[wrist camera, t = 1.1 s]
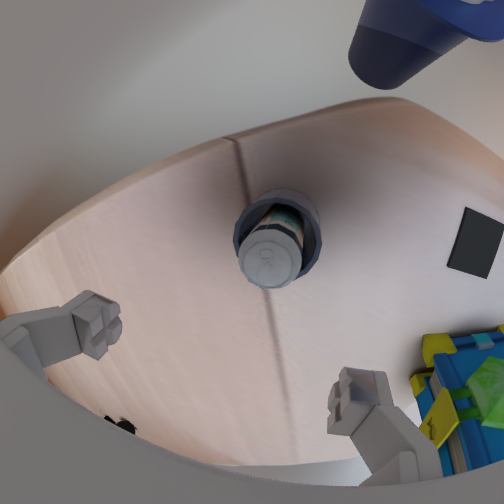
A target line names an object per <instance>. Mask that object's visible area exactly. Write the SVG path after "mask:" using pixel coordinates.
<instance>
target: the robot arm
mask: <svg viewBox="0 0 504 504" xmlns="http://www.w3.org/2000/svg"><path fill="white" fill-rule="evenodd" d="M461 1H463V2H466V3H469V4H480V3H482V2H483V1H485V0H461ZM486 1H494V0H486ZM120 313H121V312H120V305H119V304H118V303H117V302H115V301H113V300H110V299H108V298H106V297H104V296H101V295H99V294H97V293H94V292H92V291H90V290H85V291H83V292H82V293H81V294H79V295H78V296H76V297H75V298H73V299H72V300H70V301H69V302H68V303H66V304H65V305H63V306H62V307H61V308H60V307H59V306H57V307H51V308H46V309H40V310H35V311H29V312H24V313H18V314H12V315H10V316H8V317H7V318H5V319H4V320H3V321H1V322H0V504H504V460H501V461H498V462H496V463H493V464H490V465H487V466H484V467H481V468H478V469H474V470H471V471H467V472H463V473H460V474H456V475H451V476H447V477H443V472H442V467H441V462H440V458H439V453H438V449H437V447H436V446H435V445H434V444H433V443H432V442H431V441H430V440H429V439H428V438H427V437H426V436H425V434H424V433H423V432H422V431H421V430H420V429H419V428H418V427H417V426H416V425H415V424H414V423H413V422H412V421H411V420H410V419H409V418H408V417H407V416H406V415H405V414H404V413H403V412H402V411H401V410H400V409H399V407H396V406H394V404H393V400H392V395H391V391H390V387H389V383H388V379H387V375H386V373H385V372H382V371H373V370H371V371H370V370H363V369H356V368H350V367H344V368H343V369H342V370H341V372H340V374H339V381H338V382H336V383H334V385H333V387H332V389H331V391H330V394H329V398H328V409H329V411H330V412H331V414H330V415H329V417H328V422H327V433H328V434H335V435H344V436H351V437H350V438H351V440H352V441H353V443H354V445H355V446H356V448H357V450H358V451H359V453H360V455H361V456H362V458H363V460H364V461H365V463H366V465H367V466H368V468H369V470H370V471H371V473H372V475H371V476H370V477H369V478H367V479H366V480H365V481H363V482H362V483H361V484H360V485H359V486H358V487H357V486H351V487H350V486H324V485H311V484H301V483H292V482H285V481H279V480H273V479H267V478H262V477H256V476H252V475H247V474H243V473H239V472H235V471H231V470H227V469H223V468H220V467H216V466H213V465H210V464H207V463H203V462H200V461H197V460H194V459H191V458H189V457H186V456H183V455H180V454H178V453H175V452H172V451H170V450H167V449H165V448H163V447H160V446H158V445H155V444H153V443H151V442H149V441H146V440H144V439H142V438H140V437H138V436H136V435H134V434H132V433H130V432H128V431H126V430H124V429H122V428H120V427H118V426H116V425H114V424H112V423H111V422H109V421H107V420H105V419H103V418H102V417H100V416H98V415H97V414H95V413H93V412H92V411H90V410H88V409H87V408H85V407H84V406H82V405H81V404H79V403H77V402H76V401H74V400H73V399H71V398H70V397H69V396H67V395H66V394H64V393H63V392H61V391H60V390H59V389H57V388H56V387H55V386H53V385H52V384H51V383H49V382H48V381H47V375H46V373H45V370H44V367H47V366H50V365H52V364H55V363H58V362H60V361H63V360H66V359H68V358H71V357H73V356H76V355H78V354H81V353H84V354H86V355H88V356H90V357H92V358H94V359H96V360H98V361H99V359H100V358H101V357H102V356H103V355H104V354H105V353H106V352H107V351H108V346H109V345H112V344H115V343H116V342H117V341H118V340H119V337H120V335H121V333H122V322H121V320H120V318H119V317H118V315H119V314H120Z"/></svg>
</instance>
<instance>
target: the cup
mask: <svg viewBox="0 0 504 504" xmlns="http://www.w3.org/2000/svg"><path fill="white" fill-rule="evenodd" d="M280 204H285V205H290V206H292V207H294V208H296V209H297V210H298V211H299V212H300V213H301V215H302V217H303V219H304V223H305V228H304V237H303V248H302V262H301V268H300V271H299V273H298V275H297V276H296V278H295V279H297V278H299V277H301V276H303V275H305V274H306V273H308V272H309V270H310V269H311V268H312V267H313V265H314V264H315V263H316V262H317V260H318V257H319V254H320V250H321V246H322V239H321V231H320V224H319V218H318V212H317V210H316V209H315V207H314V205H313V204H312V202H311V201H310V200H309V199H308V198H307V197H306V196H304V195H303V194H301V193H300V192H297V191H295V190H291V189H283V188H282V189H275V190H271V191H268V192H267V193H265V194H264V195H262V196H261V197H259V198H258V199H257V200H255V201H254V202H253V203H252V204H251V205H249V206H248V207H247V208H246V209H245V210H244V211H243V213H242V214H241V216H240V217H239V219H238V220H237V222H236V224H235V229H234V235H233V243H234V247H235V251H236V255H237V257H238V255H239V249H240V247H241V244H242V243H243V241H244V240H245V239H246V238H247V236H248V235H249V234H250V233H251V231H252V230H253V229H254V227H255V226H256V225H257V223H258V222H259V221H260V220H261V218H262V217H263V216H264V214H265V213H266V212H267V211H268V210H269V209H270V208H271V207H273V206H275V205H280ZM295 279H294V280H295ZM294 280H293V281H294Z"/></svg>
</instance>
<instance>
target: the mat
mask: <svg viewBox="0 0 504 504" xmlns="http://www.w3.org/2000/svg"><path fill="white" fill-rule="evenodd" d="M503 231H504V224H502V223H500V222H498V221H496V220H493V219H491V218H489V217H487V216H485V215H483V214H481V213H479V212H476V211H474V210H472V209H470V208H467V207H465V211H464V215H463V218H462V222H461V225H460V229H459V232H458V235H457V238H456V241H455V244H454V247H453V250H452V253H451V255H450V258H449V261H448V264H447V266H448V267H449V268H452V269H456V270H459V271H462V272H466V273H469V274H472V275H475V276H478V277H482V278H485V279H487V277H488V274H489V272H490V269H491V266H492V264H493V261H494V258H495V256H496V253H497V250H498V247H499V244H500V241H501V238H502V235H503Z"/></svg>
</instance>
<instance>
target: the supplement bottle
mask: <svg viewBox="0 0 504 504" xmlns="http://www.w3.org/2000/svg"><path fill="white" fill-rule="evenodd" d="M304 228H305V223H304V219H303V217H302V215H301V213H300V212H299V211H298V210H297V209H296V208H294V207H292V206H290V205H285V204H280V205H275V206H273V207H271V208H270V209H269V210H268V211H267V212H266V213H265V214H264V216H263V217H262V218H261V220H260V221H259V222H258V223H257V225H256V226H255V227H254V229H253V230H252V231H251V233H250V234H249V235H248V236H247V238H246V239H245V240H244V241H243V243H242V244H241V247H240V249H239V255H238V259H239V265H240V268H241V271H242V272H243V274H244V275H245V277H246V278H247V280H248V281H249V282H250V283H252V284H254V285H256V286H258V287H260V288H261V289H278V288H282V287H284V286H286V285H288V284H289V283H291V282H292V281H293V280H294V279H295V278H296V276H297V275H298V273H299V271H300V268H301V262H302V248H303V237H304Z"/></svg>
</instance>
